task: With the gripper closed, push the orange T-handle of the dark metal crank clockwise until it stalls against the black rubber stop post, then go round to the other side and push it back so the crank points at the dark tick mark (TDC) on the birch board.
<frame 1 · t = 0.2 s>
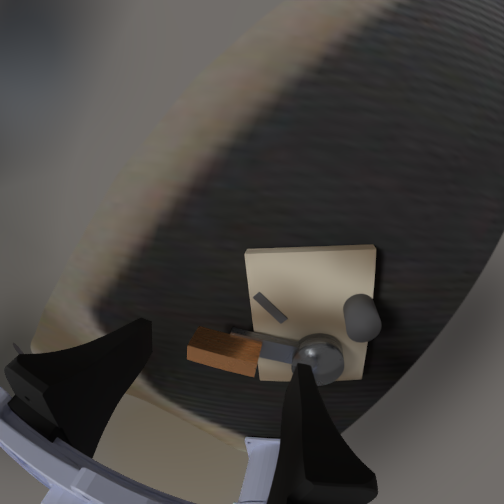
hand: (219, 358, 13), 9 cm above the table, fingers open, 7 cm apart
crank: (269, 357, 20), point 3 cm above the table, hinge at 75.0°
stop post: (357, 301, 21), resting on board
board: (312, 319, 22), on the table
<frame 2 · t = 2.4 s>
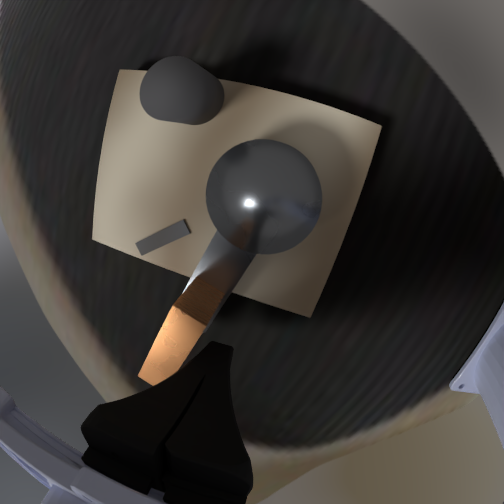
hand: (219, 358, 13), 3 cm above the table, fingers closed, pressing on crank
crank: (212, 280, 11), point 3 cm above the table, hinge at 75.0°, touching gripper
stop post: (204, 101, 12), resting on board
board: (216, 181, 13), on the table
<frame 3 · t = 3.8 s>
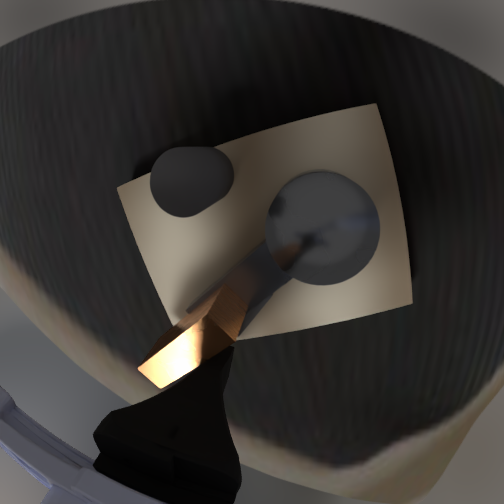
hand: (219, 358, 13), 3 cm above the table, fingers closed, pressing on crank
crank: (245, 293, 11), point 3 cm above the table, hinge at 26.2°, touching gripper
stop post: (212, 173, 13), resting on board
board: (267, 237, 13), on the table
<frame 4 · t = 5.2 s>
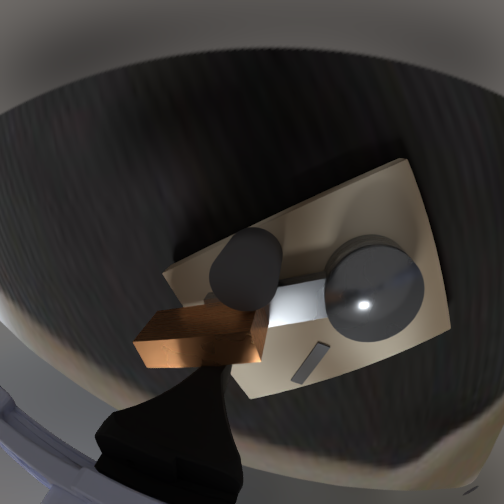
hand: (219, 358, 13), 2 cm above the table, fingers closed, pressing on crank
crank: (280, 317, 11), point 3 cm above the table, hinge at -12.2°, touching gripper, stop post
stop post: (257, 246, 13), resting on board
board: (318, 296, 14), on the table
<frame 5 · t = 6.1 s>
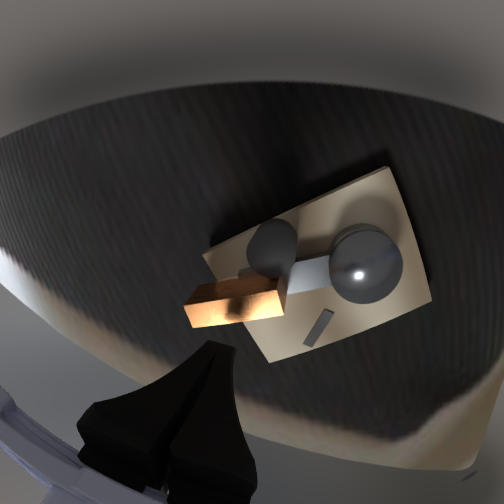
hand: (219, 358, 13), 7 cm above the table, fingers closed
crank: (297, 284, 15), point 3 cm above the table, hinge at -12.0°
stop post: (277, 233, 17), resting on board
board: (324, 273, 18), on the table
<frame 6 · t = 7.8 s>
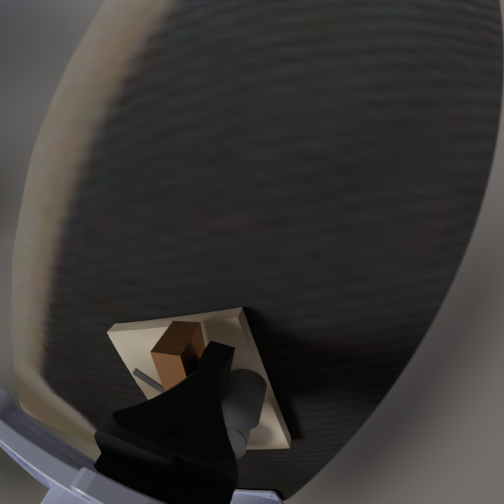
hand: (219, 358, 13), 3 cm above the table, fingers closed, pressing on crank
crank: (203, 411, 14), point 3 cm above the table, hinge at -11.7°, touching gripper
stop post: (249, 372, 16), resting on board
board: (206, 391, 18), on the table
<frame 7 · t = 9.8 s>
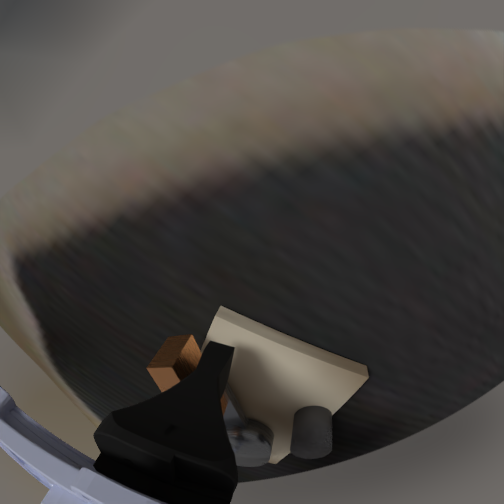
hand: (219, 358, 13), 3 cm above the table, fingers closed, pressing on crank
crank: (218, 420, 14), point 3 cm above the table, hinge at 40.4°, touching gripper
stop post: (313, 405, 16), resting on board
board: (255, 400, 17), on the table
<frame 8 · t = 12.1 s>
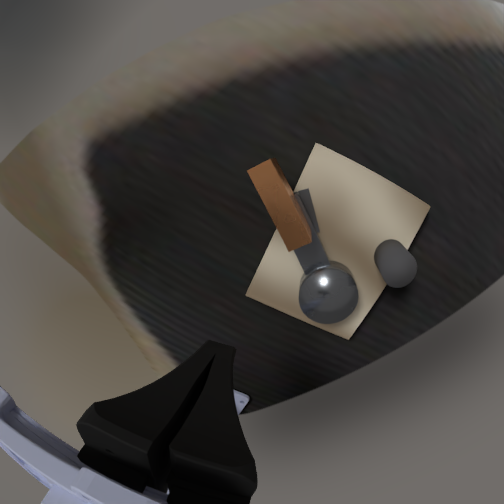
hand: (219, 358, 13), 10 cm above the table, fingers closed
crank: (306, 248, 18), point 3 cm above the table, hinge at 50.5°
stop post: (386, 250, 20), resting on board
board: (336, 248, 20), on the table
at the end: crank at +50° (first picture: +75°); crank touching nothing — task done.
